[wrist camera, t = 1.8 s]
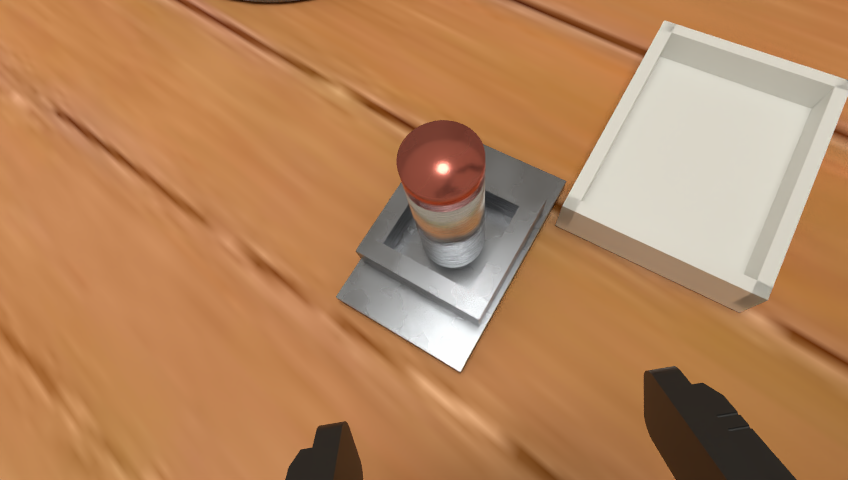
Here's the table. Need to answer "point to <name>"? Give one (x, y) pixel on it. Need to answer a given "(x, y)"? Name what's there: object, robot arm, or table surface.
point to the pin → (445, 190)
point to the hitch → (450, 287)
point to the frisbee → (271, 0)
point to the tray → (707, 164)
